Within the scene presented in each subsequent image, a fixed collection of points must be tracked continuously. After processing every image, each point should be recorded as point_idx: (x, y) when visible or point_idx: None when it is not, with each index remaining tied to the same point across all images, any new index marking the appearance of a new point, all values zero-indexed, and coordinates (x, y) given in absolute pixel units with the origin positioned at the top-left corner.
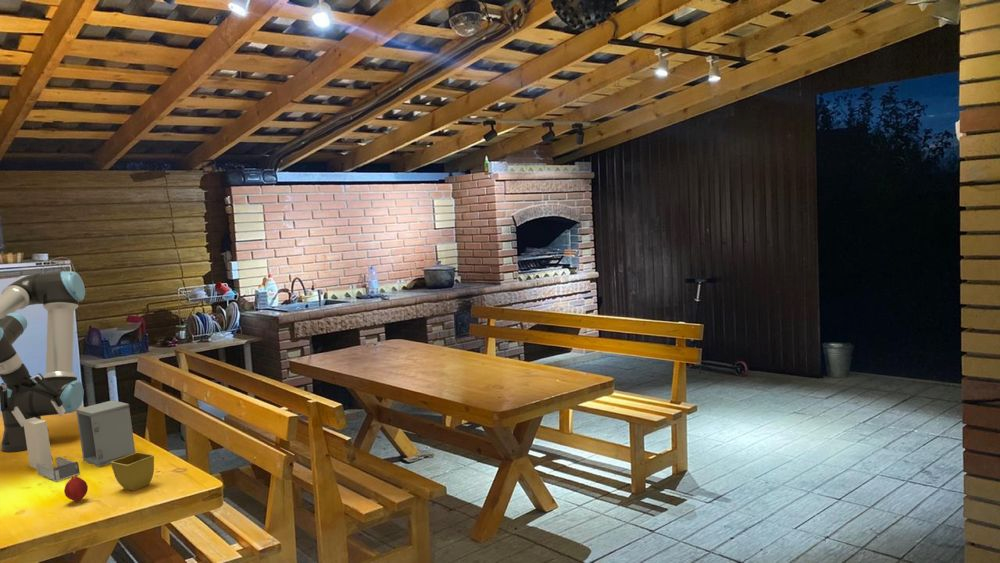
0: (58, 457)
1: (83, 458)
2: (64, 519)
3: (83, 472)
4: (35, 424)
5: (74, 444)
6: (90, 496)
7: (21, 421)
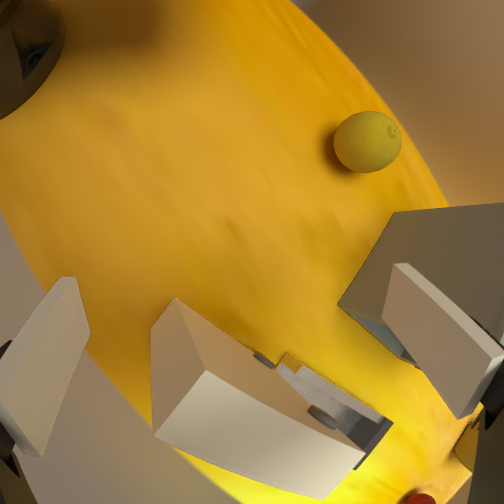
0: (305, 373)
1: (344, 308)
2: None
3: (376, 395)
4: (324, 495)
5: (184, 76)
6: (418, 481)
7: (76, 350)
